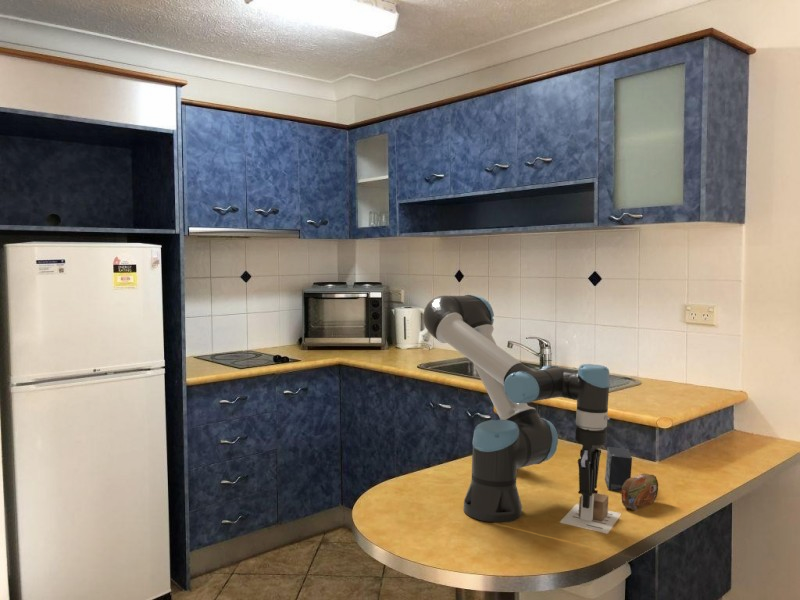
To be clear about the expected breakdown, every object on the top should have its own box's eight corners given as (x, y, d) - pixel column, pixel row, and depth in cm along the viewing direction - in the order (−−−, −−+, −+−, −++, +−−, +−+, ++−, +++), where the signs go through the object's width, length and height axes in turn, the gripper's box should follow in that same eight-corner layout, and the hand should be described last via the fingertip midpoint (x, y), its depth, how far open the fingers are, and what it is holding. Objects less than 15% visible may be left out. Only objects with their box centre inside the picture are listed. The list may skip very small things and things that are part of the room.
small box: (631, 493, 193) (633, 457, 192) (607, 490, 194) (609, 455, 193) (626, 481, 203) (628, 447, 202) (604, 479, 204) (606, 446, 204)
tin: (628, 513, 176) (630, 482, 176) (618, 509, 179) (619, 479, 178) (658, 502, 186) (660, 472, 186) (648, 498, 188) (649, 469, 188)
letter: (559, 523, 168) (559, 522, 168) (576, 504, 182) (576, 503, 182) (607, 534, 162) (607, 533, 162) (621, 514, 176) (621, 513, 176)
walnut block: (578, 516, 172) (579, 497, 172) (584, 509, 178) (585, 491, 177) (602, 521, 169) (603, 502, 169) (607, 514, 175) (608, 495, 174)
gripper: (599, 434, 158) (594, 531, 160) (612, 424, 169) (608, 514, 171) (568, 429, 162) (564, 523, 163) (583, 419, 173) (579, 508, 175)
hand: (586, 518), depth 167 cm, fingers closed
